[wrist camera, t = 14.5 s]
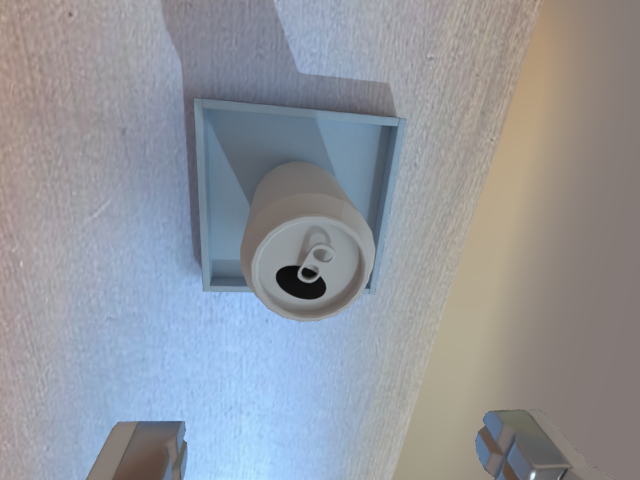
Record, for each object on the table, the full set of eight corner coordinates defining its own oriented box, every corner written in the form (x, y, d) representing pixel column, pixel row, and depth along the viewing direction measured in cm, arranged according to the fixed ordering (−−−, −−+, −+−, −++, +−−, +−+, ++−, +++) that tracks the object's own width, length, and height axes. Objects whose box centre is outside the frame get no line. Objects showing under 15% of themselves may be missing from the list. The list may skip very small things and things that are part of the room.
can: (237, 222, 28) (210, 303, 17) (279, 141, 25) (280, 172, 14) (315, 258, 30) (336, 352, 19) (359, 187, 28) (413, 244, 17)
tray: (398, 117, 26) (407, 118, 24) (369, 283, 32) (375, 294, 30) (199, 98, 24) (193, 97, 22) (207, 279, 30) (202, 291, 28)
